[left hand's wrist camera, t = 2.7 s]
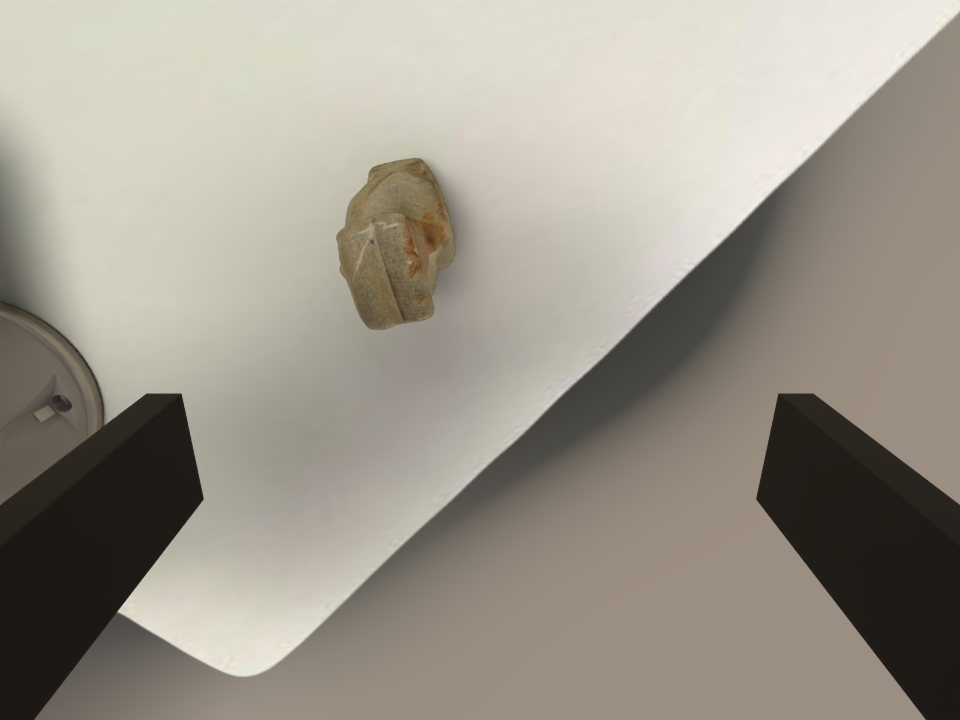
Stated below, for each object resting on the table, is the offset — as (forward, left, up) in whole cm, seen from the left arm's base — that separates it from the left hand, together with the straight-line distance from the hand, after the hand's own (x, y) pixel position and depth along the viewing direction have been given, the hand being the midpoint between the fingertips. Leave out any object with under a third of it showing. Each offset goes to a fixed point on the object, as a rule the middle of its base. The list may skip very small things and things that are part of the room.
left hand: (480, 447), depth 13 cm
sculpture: (-2, +4, -28) cm, 28 cm away
